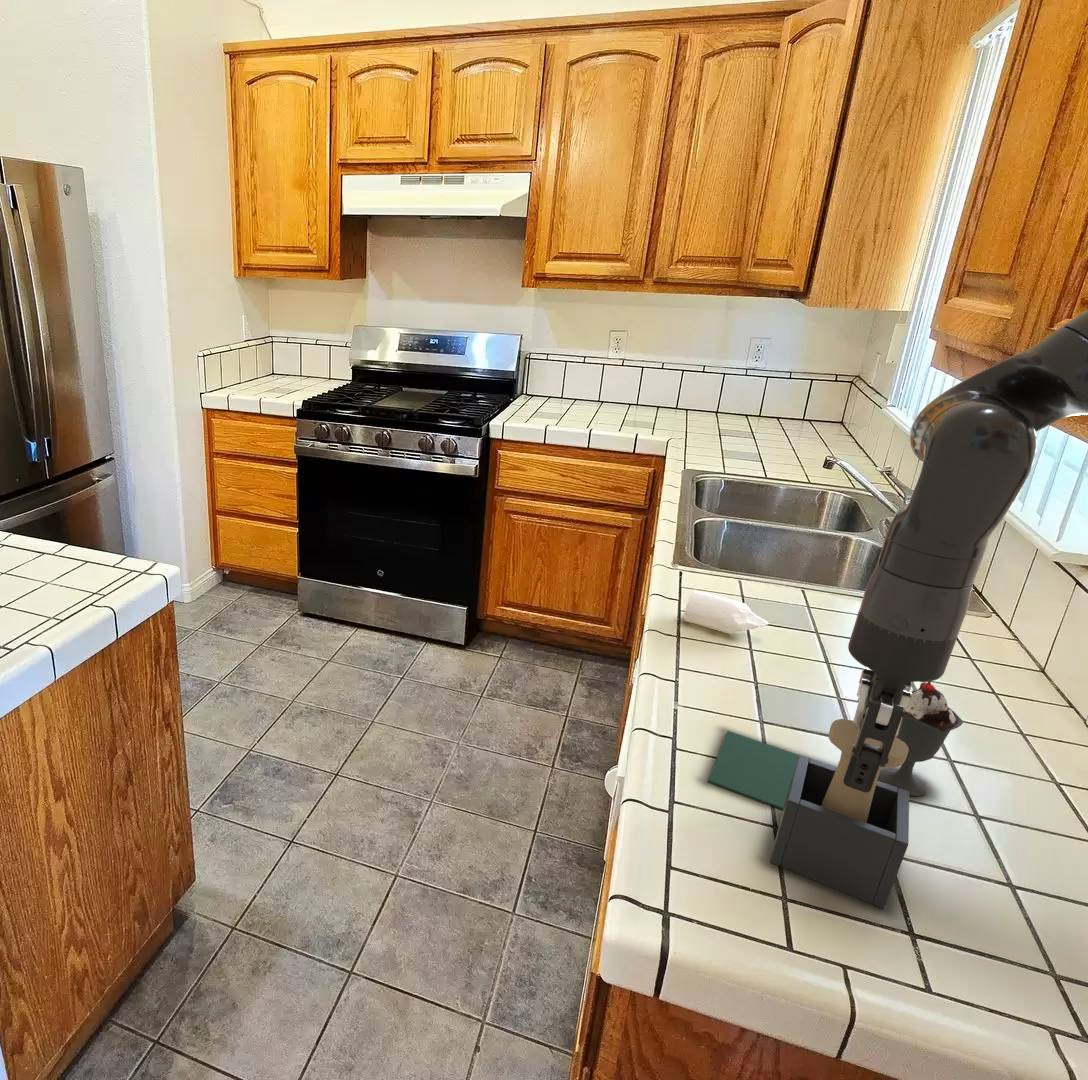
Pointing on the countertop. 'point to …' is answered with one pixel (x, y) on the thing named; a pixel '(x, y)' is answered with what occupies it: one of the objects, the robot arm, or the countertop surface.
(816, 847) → the grey box
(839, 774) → the handle
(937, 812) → the countertop surface
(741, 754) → the mat
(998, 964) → the countertop surface
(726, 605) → the white tapered piece
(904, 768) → the sundae
